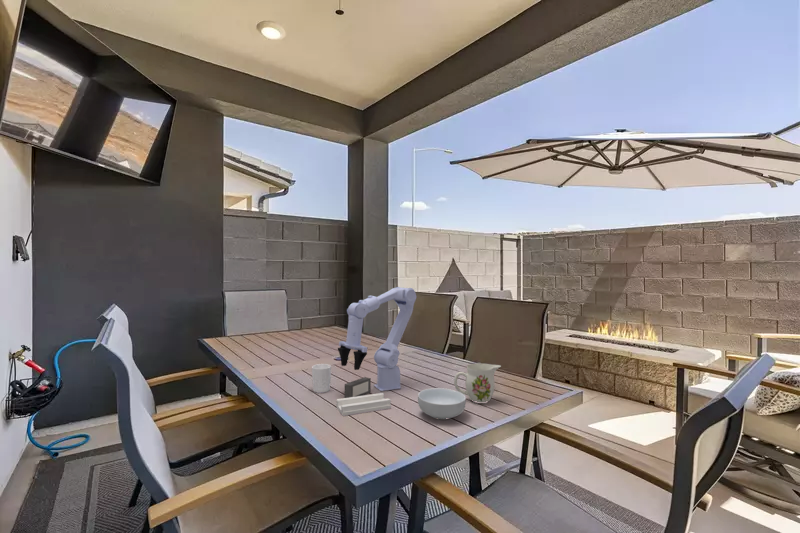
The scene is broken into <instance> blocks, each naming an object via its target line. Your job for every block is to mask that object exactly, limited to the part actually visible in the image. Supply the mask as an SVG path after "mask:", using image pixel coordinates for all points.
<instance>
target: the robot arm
mask: <svg viewBox="0 0 800 533" xmlns="http://www.w3.org/2000/svg"><path fill="white" fill-rule="evenodd" d="M417 298H418V297H417V293H416V290H415V289H414V288H413V287H400V286H396V287H393V288H391V289H390V290H388V291H386V292H383V293H382V294H379V295H378V296H376V295H375V296H374V295H372V294H371V295H367V298H365V299H359V300H358V302H352V303H351V304H350V305H348V308H346V313H347V315H348V318H347V319H348V323H347V331H346V332H347V333H346V340H345V341H344V340H343V341H342V340H341V341H339V342H338V346H339V347H337V350H338V353H339V357H340V362H341V363H340V364H341V366H342V367H345V366H347V365H348V360H349V356H350V355H349V354H350V352H351V350H355V351H353V352H352V353H353V357H354V364H353V369H354V370H355V371H359V370H360V368H361V366H362V363H363V361H364V359H365V357H366V356H367V355H368V347H367V346H364V345H362V343H361V340H362V333H363V326H364V325H363V324H364V319H365V317H367V315H368V314H369V313H372V312H373V311H376V310H377V309H379V308H380V306H381V305H383V304H385V303H387V302H389V301H392V300H393V301H394V302H395V304H396V306H397V307H398V308H399V311H398V313H397V316H396V318H395V320H394V322H393V325H392V326H391V329H390V332H389V334H388V335H387V339H386V341H385V342H384V343H382V344H380V346H379V348H378V349H377V350H376V351H375V353H374V355H373V359H374V362H375V363H376V367H377V368H376V369H377V374H376V375H377V377H376V379H377V380H376V384H373V386H374V387H375V388H376V389H377V390H379V391H380V392H385V391H391V390H392V391H393V390H397V389H400V390H401V388H402V387H401V369H400V367H399V366H398V365H397V364H398V362H399V356H400V354H401V353H400V350H399V349H398V347H399V344H400V342H401V339H402V338H403V335H404V332H405V330H406V328H407V326H408V323H409V321H410V319H411V317H412V314H413V311H414V305H415V302H416V301H417V300H416V299H417Z"/></svg>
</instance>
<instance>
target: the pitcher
mask: <svg viewBox="0 0 800 533" xmlns="http://www.w3.org/2000/svg"><path fill="white" fill-rule="evenodd" d="M501 367H502V365H501V364H491V363H480V364H477V363H469V364H467V365H466V371H467V372H464V371H459V372H456V374H454V377H453V385H454V388H455V389H456V391H458V392H461V393H462V394H464V395H465V396H468V397H469V399H470V401H471V400H473V401H477V402H486V401H489V402H490V400H491V399H492V397H493V395H494V390H495V377H494V375H495V372H496V371H497V370H498V369H499V368H501ZM460 376H464V377H465V389H466V390H463V389H461V388H460V386H459V385H458V378H459V377H460Z"/></svg>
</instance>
